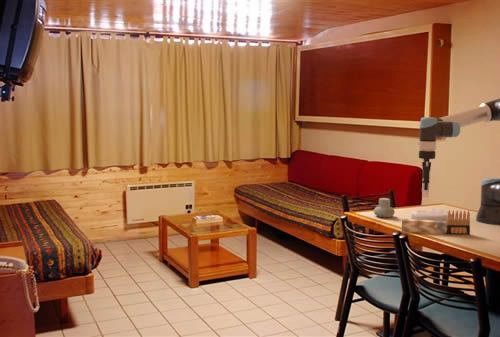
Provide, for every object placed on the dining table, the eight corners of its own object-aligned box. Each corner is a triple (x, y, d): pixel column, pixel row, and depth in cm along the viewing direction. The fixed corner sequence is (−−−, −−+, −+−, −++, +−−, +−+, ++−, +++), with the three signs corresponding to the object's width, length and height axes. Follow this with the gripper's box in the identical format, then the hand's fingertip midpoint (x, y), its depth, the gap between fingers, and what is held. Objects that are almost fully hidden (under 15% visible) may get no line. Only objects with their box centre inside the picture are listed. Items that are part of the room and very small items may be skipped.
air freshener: (386, 214, 304) (387, 196, 303) (396, 217, 297) (397, 199, 296) (371, 216, 299) (371, 198, 298) (381, 219, 292) (382, 201, 290)
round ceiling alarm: (428, 230, 268) (428, 218, 268) (396, 220, 291) (397, 208, 291) (467, 226, 278) (468, 214, 277) (434, 216, 301) (434, 205, 300)
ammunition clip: (446, 235, 258) (448, 210, 256) (445, 234, 260) (446, 209, 258) (470, 235, 257) (471, 210, 256) (468, 234, 259) (470, 210, 258)
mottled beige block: (444, 233, 262) (445, 221, 261) (445, 235, 258) (446, 222, 258) (401, 230, 268) (402, 218, 267) (401, 232, 264) (402, 220, 263)
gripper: (418, 147, 271) (416, 189, 274) (419, 152, 247) (417, 198, 250) (434, 148, 269) (432, 190, 271) (436, 152, 245) (434, 199, 248)
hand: (425, 194), depth 261 cm, fingers open, 13 cm apart
